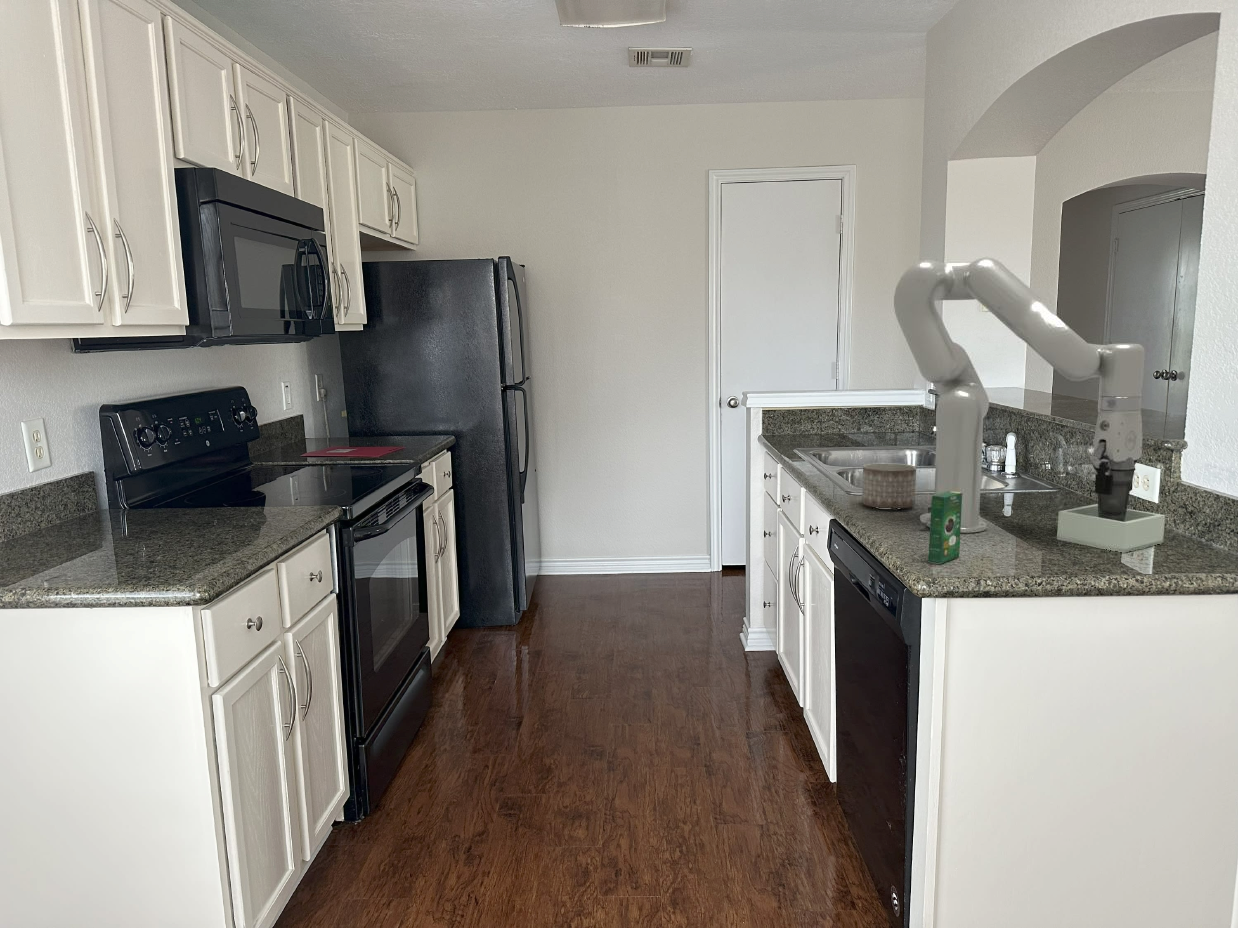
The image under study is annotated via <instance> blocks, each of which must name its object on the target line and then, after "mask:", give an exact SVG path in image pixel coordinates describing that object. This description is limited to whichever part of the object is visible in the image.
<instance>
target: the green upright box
mask: <svg viewBox="0 0 1238 928" xmlns="http://www.w3.org/2000/svg"><path fill="white" fill-rule="evenodd" d="M930 499H931V502H930V503H931V504H930V512H931V519H930V528H929V542H928V560H927V562H928V563H932V564H936V565H942V564H946V563H947V562H949V561H951V560H955V559H957V558H959V557H960V549H961V548H960V546H961V533H960V530H961V510H962V492H957V491H948V492H944V493H940V494H936V495H934V494H932V495H931V498H930Z"/></svg>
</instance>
